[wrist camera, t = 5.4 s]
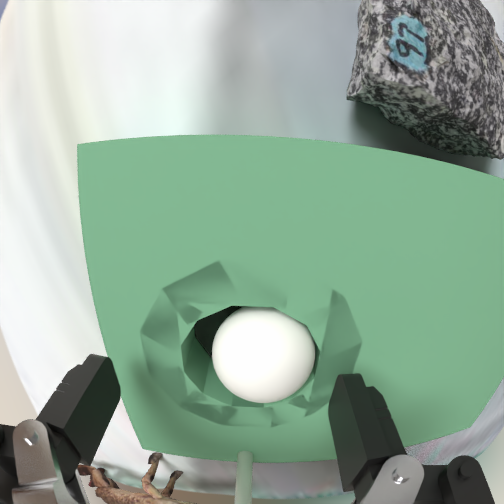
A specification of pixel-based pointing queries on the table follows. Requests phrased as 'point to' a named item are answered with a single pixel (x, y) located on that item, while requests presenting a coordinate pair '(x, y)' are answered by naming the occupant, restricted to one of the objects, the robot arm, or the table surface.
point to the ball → (263, 354)
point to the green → (293, 283)
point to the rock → (433, 72)
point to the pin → (244, 478)
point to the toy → (121, 500)
